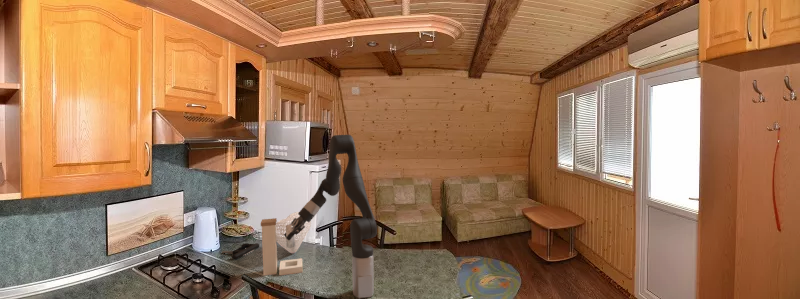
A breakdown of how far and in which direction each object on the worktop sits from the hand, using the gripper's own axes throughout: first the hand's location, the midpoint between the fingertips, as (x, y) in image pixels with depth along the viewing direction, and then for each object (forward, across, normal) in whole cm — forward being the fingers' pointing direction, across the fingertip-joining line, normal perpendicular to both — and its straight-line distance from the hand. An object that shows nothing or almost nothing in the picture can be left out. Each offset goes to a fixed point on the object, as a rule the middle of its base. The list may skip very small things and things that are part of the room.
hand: (286, 237), depth 161 cm
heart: (+6, -22, +18) cm, 29 cm away
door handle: (+26, -41, 0) cm, 48 cm away
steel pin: (+2, 0, +5) cm, 5 cm away
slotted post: (+13, -1, +11) cm, 17 cm away
